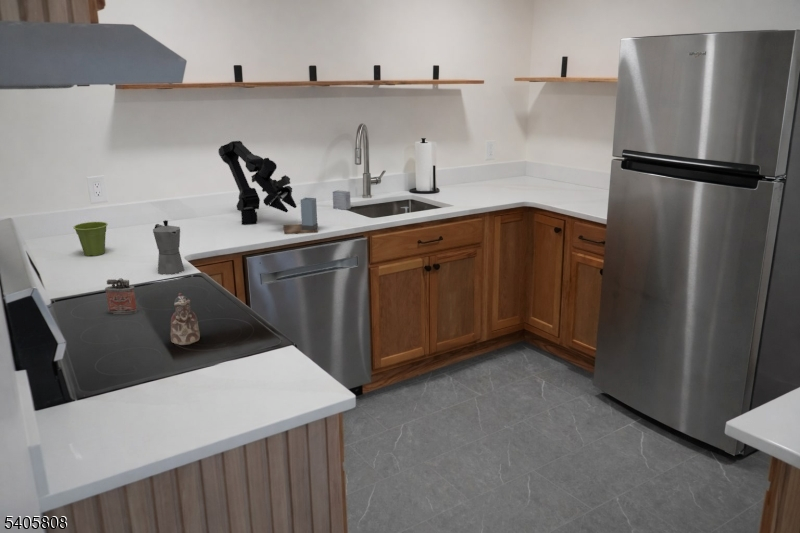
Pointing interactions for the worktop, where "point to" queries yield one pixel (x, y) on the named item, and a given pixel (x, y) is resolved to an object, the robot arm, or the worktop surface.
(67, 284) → the worktop surface
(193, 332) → the figurine
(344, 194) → the medicine box
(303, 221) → the sleeve
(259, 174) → the robot arm
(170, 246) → the coffeepot
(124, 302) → the lighter
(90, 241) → the plant pot
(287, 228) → the pin board
